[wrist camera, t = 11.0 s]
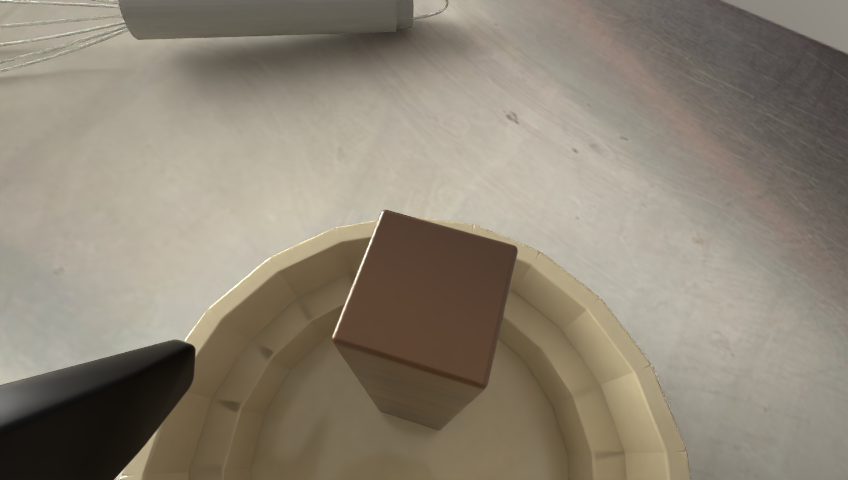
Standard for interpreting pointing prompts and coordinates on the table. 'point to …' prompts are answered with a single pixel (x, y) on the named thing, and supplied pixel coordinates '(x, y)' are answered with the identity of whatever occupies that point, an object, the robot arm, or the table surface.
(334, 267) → the bowl
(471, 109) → the table surface
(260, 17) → the kitchen whisk
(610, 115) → the table surface
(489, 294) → the stir stick
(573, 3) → the table surface
